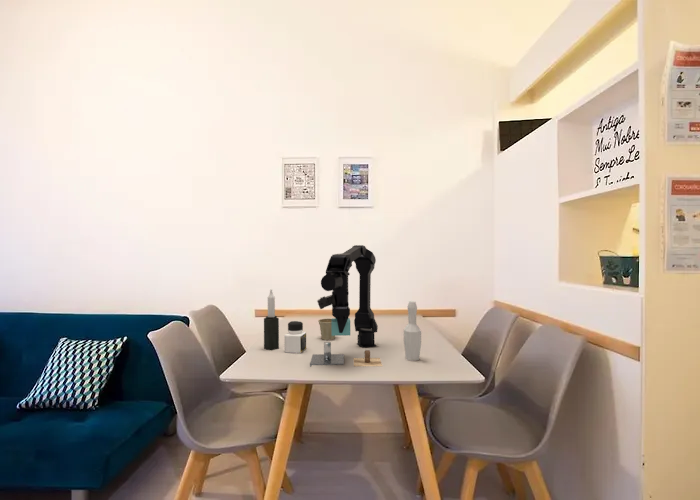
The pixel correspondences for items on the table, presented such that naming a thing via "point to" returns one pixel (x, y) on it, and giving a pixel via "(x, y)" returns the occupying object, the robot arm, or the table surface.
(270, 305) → the black and white bottle
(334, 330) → the collar
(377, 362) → the stand
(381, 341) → the table surface
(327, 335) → the flower pot
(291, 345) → the medicine bottle
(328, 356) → the silver peg base
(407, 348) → the grey bottle
